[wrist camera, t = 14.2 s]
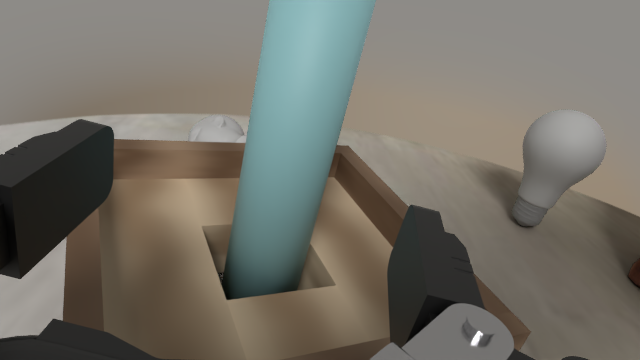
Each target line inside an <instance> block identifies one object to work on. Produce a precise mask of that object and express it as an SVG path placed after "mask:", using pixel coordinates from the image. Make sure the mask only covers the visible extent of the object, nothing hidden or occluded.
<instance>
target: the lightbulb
mask: <svg viewBox="0 0 640 360" xmlns="http://www.w3.org/2000/svg"><path fill="white" fill-rule="evenodd" d="M605 152H606V139H605V135H604V132H603V130H602V128H601V127H600V125H599V124H598V123H597V122H596V121H595V120H594V119H593V118H591V117H590V116H588V115H586V114H585V113H582V112H579V111H575V110H557V111H553V112H550V113H547V114H545V115H543V116H542V117H540V118H538V119H537V120H536V121H535V122H534V123H533V124H532V125H531V126H530V127H529V129H528V130H527V132H526V135H525V137H524V141H523V159H524V174H523V178H522V182H521V185H520V187H519V190H518V194H519V196H518V198H517V201H516V202H515V205H514V208H513V210H512V215H513V216H514V218H515V219H516V220H517V222H518V223H519V224H520V225H522V226H536V225H538V224H539V223H540V222H541V221H542V219H543V217H544V215H545V214H546V213H547V211H548V209H549V208H552V207H553V206H554V205H555V203H556V202H557V200H558V198H559V197H560V196H561V195H562V194H563V193H564V192H565V191H566V190H567V189H569V188H570V187H571V186H572V185H574V184H576V183H578V182H579V181H581V180H583V179H584V178H586V177H587V176H588V175H590V174H592V173H593V172H594V171H595V170H596V169H597V168H598V167H599V165H600V164H601V162H602V160H603V159H604V155H605Z"/></svg>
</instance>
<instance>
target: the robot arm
mask: <svg viewBox="0 0 640 360" xmlns="http://www.w3.org/2000/svg"><path fill="white" fill-rule="evenodd" d="M113 163H114V133H113V130H112V128H111V127H109V126H106V125H102V124H98V123H94V122H90V121H86V120H82V119H79V120H77V121H75V122H73V123H71V124H70V125H68V126H66V127H64V128H63V129H61V130H59V131H57V132H51V133H47V134H43V135H39V136H35V137H33V138H31V139H29V140H27V141H25V142H23V143H21V144H20V145H18V147H14V148H12V149H10V150H9V151H7V152H5V154H4V155H3V154H1V155H0V274H2V275H6V276H10V277H14V278H18V279H21V278H22V277H23V276H24V275H25V274H27V273H28V272H29V271H30V270H31V269H32V268H33V267H34V266H35V265H36V264H37V263H38V262H39V261H41V260H42V259H43V258H44V257H45V256H46V255H47V254H48V253H49V252H50V251H51V250H52V249H54V248H55V247H56V246H57V245H58V244H59V243H60V242H61V241H62V240H63V239H64V238H65V237H67V236H68V235H69V234H70V233H71V232H72V231H73V230H74V229H75V228H76V227H77V226H78V225H80V224H81V223H82V222H83V221H84V220H85V219H86V218H87V217H88V216H89V215H90V214H91V213H93V212H94V211H95V210H96V209H97V208H98V207H99V206H100V205H101V204H102V203H103V202H104V201H105V200H106V199H107V197H108V195H109V193H110V191H111V188H112V184H113ZM473 273H474V272H473V269H472V266H471V264H470V260H469V257H468V253H467V250H466V248H465V247H464V245H463V244H462V243H461V242H460V241H459V239H458V238H457V237H456V236H455V235H454V234H450V233H446V232H445V231H444V227H443V224H442V220H441V216H440V213H439V212H438V211H435V210H431V209H427V208H423V207H419V206H415V205H410V206H409V208H408V210H407V212H406V214H405V217H404V220H403V222H402V225H401V228H400V230H399V233H398V236H397V238H396V241H395V243H394V246H393V249H392V251H391V255H390V258H389V263H388V269H387V283H388V305H389V327H390V344H388V345H387V346H385V347H384V348H383V349H382V350H380V351H379V352H378V353H377V354H376V355H374V356H373V357H372V358H371V359H370V360H535V359H533V358H531V357H529V356H527V355H525V354H523V353H521V352H519V351H518V350H516V349H515V348H514V341H513V337H512V335H511V333H510V331H509V330H508V329H507V327H506V326H505V325H504V324H503V323H502V322H501V321H500V320H499V319H498V318H497V317H495V316H494V315H493V314H491V313H490V312H488V311H486V310H485V307H484V304H483V301H482V298H481V294H480V291H479V288H478V285H477V282H476V279H475V276H474V275H473ZM0 360H181V359H160V358H156V357H154V356H151V355H150V354H148V353H146V352H144V351H142V350H140V349H138V348H136V347H135V346H133V345H131V344H129V343H127V342H125V341H123V340H121V339H120V338H118V337H116V336H114V335H112V334H110V333H108V332H105V331H101V330H97V329H93V328H89V327H85V326H81V325H77V324H73V323H69V322H65V321H61V320H57V319H53V320H52V321H51V322H50V323H49V324H48V326H47V327H46V328H45V329H44V330H43V331H42V332H41V334H40V335H30V336H15V337H9V338H2V339H0ZM562 360H588V359H585V358H581V357H576V356H569V357H565V358H563V359H562Z"/></svg>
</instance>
